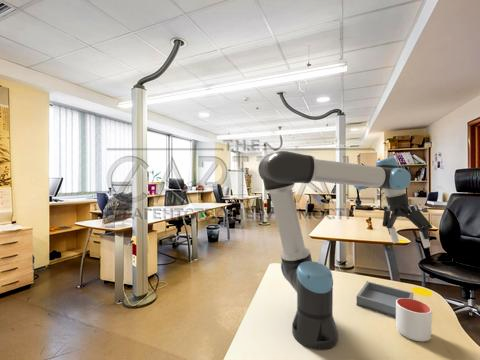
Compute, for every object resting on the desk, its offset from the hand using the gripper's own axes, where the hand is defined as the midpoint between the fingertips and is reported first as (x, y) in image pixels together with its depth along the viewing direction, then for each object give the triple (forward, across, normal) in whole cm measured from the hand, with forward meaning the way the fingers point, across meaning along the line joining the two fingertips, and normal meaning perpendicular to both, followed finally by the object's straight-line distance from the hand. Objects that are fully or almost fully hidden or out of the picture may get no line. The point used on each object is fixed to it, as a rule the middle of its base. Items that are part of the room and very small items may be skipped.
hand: (410, 244), depth 100 cm
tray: (+23, +9, +13) cm, 28 cm away
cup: (+24, -9, +21) cm, 33 cm away
